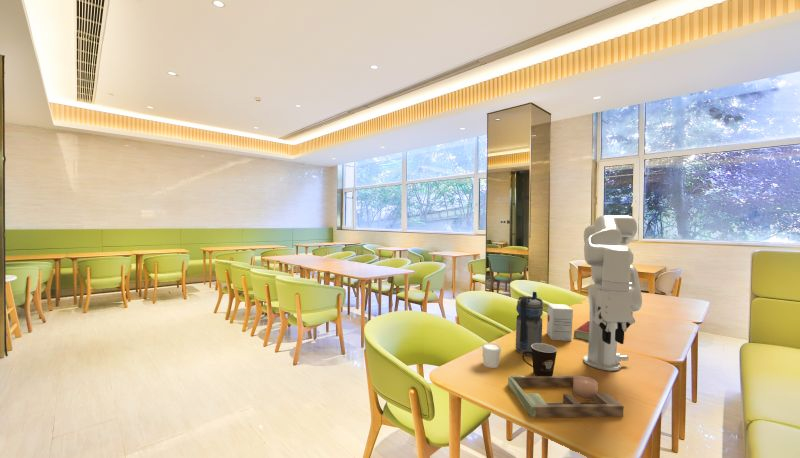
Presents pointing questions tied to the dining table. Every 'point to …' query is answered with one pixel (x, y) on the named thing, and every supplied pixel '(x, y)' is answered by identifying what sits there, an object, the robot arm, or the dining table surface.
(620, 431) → the dining table surface
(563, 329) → the supplement box
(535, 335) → the beverage bottle
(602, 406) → the trap lane
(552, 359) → the coffee mug
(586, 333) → the hardcover book
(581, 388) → the pink rounded dome
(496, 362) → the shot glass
